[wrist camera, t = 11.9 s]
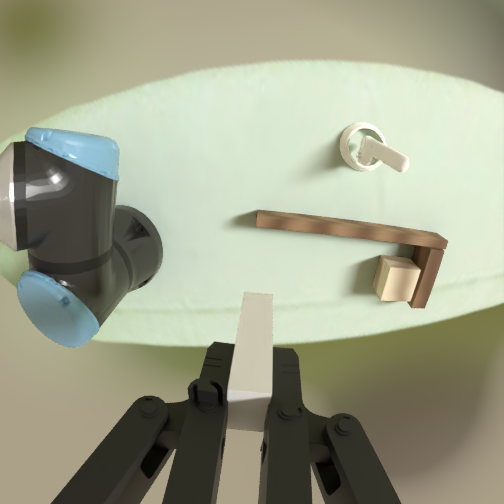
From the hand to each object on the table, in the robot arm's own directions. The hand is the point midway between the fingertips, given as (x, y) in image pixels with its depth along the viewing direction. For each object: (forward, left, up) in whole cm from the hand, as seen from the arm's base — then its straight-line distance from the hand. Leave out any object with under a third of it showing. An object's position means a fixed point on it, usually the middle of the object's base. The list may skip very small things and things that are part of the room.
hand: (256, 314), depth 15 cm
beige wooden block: (+23, -10, -30) cm, 39 cm away
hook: (+14, +10, -30) cm, 34 cm away
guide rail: (+15, -8, -29) cm, 34 cm away
